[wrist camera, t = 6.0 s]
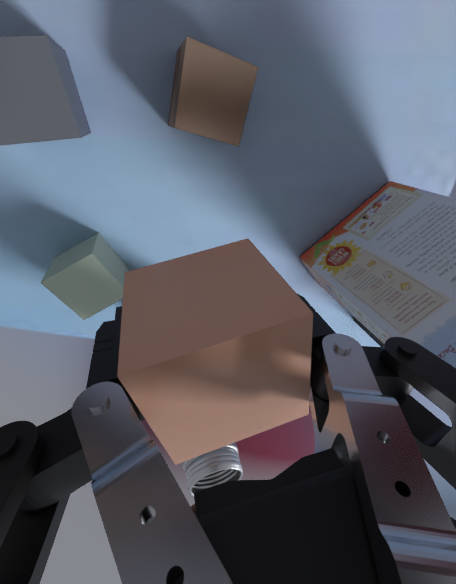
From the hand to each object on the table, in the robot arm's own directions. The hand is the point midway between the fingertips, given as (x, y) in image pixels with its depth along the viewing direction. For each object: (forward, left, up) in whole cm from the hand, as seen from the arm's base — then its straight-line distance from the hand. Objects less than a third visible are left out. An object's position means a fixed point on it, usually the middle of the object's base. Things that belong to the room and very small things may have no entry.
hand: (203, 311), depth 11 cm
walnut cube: (-8, +4, -19) cm, 21 cm away
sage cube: (+6, -8, -19) cm, 21 cm away
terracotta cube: (0, 0, -1) cm, 1 cm away
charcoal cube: (-8, -8, -19) cm, 22 cm away
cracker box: (+6, +23, -19) cm, 30 cm away
